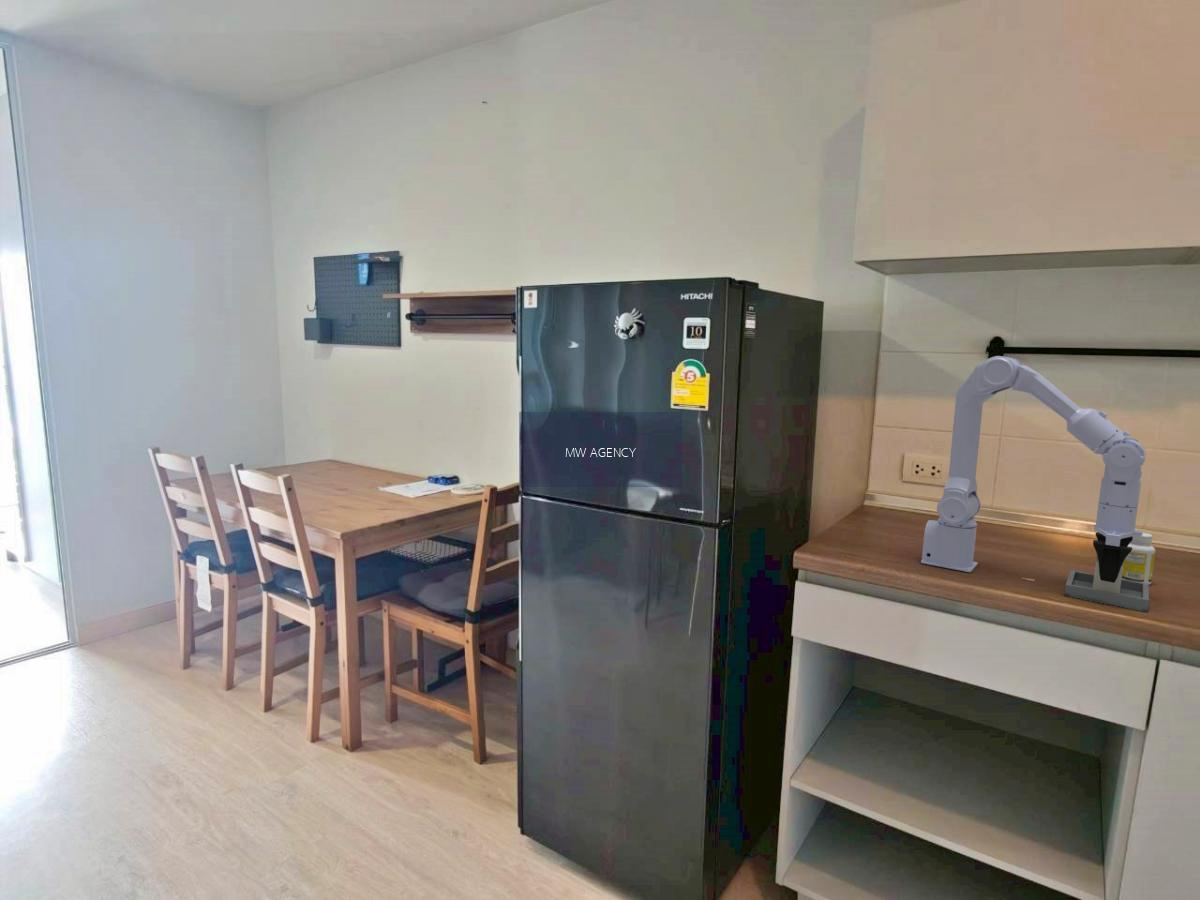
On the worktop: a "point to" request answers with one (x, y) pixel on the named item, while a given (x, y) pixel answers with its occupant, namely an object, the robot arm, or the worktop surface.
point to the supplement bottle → (1139, 560)
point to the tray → (1129, 597)
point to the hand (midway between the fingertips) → (1108, 576)
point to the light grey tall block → (1104, 584)
